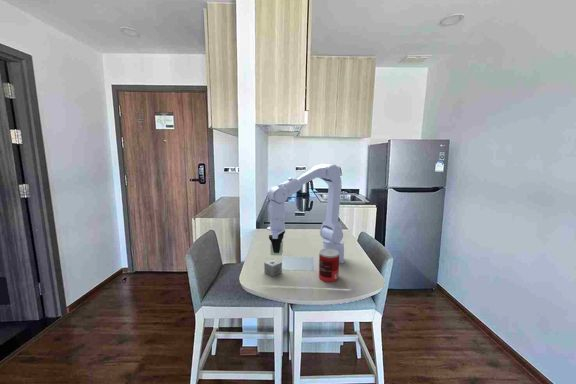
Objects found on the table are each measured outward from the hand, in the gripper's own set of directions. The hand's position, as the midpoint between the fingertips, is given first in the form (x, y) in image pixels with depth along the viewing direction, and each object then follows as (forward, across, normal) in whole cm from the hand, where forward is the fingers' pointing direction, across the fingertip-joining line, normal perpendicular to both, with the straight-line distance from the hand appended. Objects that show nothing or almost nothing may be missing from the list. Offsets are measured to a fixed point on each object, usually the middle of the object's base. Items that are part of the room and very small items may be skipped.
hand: (277, 250), depth 109 cm
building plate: (+10, -10, +8) cm, 16 cm away
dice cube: (+10, 0, -2) cm, 10 cm away
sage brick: (+1, 0, 0) cm, 1 cm away
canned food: (+10, +2, +21) cm, 23 cm away
